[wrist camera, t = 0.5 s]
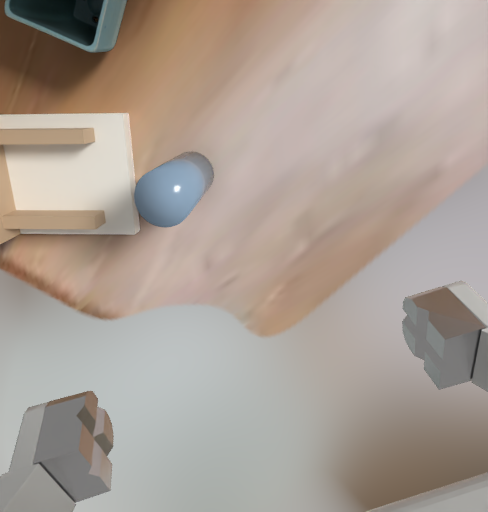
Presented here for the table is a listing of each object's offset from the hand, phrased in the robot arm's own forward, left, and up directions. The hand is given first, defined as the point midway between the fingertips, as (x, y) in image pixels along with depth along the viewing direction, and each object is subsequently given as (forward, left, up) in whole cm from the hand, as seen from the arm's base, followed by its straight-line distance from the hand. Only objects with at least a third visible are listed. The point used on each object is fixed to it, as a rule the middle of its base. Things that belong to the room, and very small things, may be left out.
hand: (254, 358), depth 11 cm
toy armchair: (+2, -24, -41) cm, 48 cm away
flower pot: (-16, -18, -41) cm, 48 cm away
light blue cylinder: (+2, -9, -41) cm, 42 cm away
